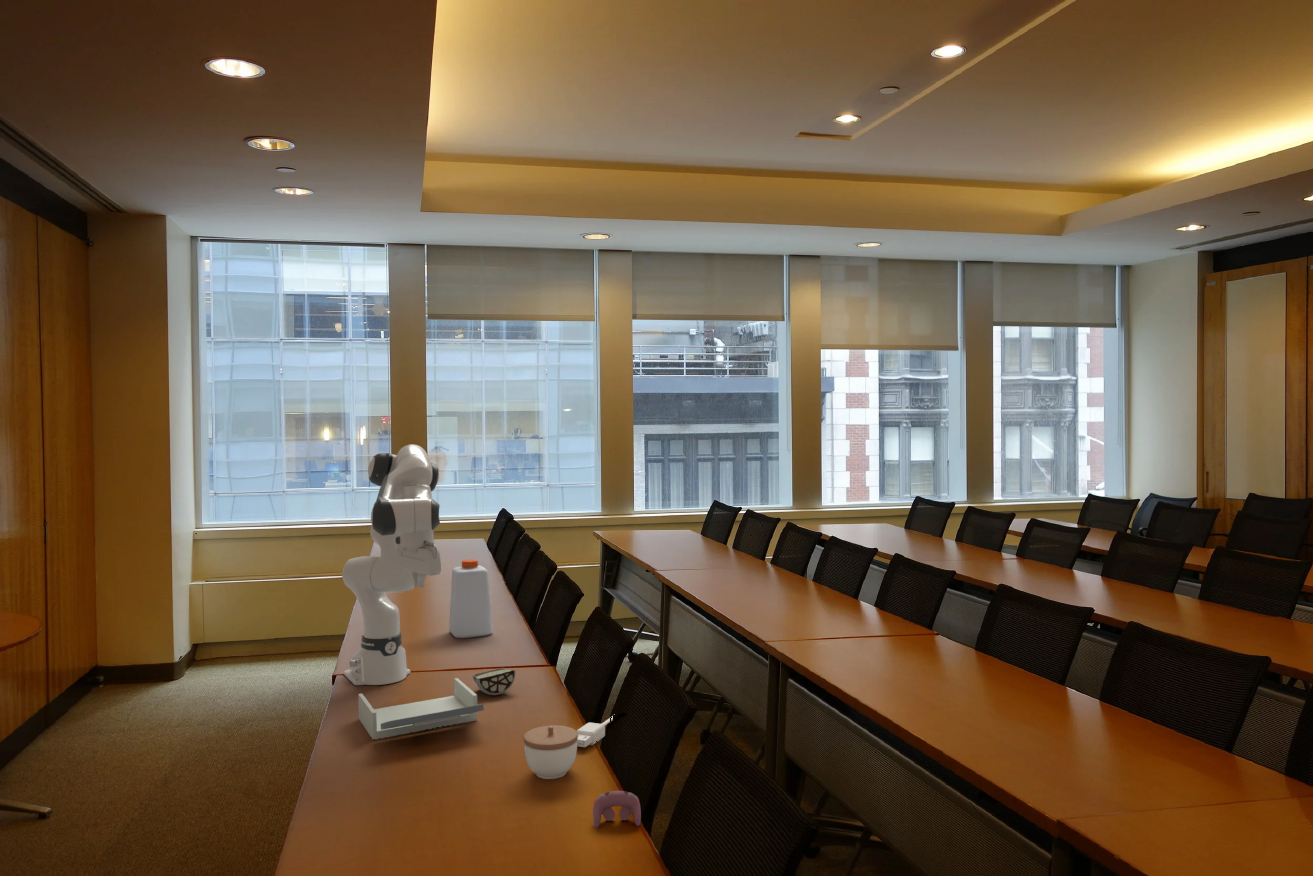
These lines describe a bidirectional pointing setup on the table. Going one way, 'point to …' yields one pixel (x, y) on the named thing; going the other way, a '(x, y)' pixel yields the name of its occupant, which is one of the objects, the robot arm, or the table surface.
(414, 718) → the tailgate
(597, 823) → the video game controller
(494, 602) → the table surface
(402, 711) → the tray
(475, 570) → the plastic bottle
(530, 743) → the lidded bowl
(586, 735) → the charging cable
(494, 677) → the food container
